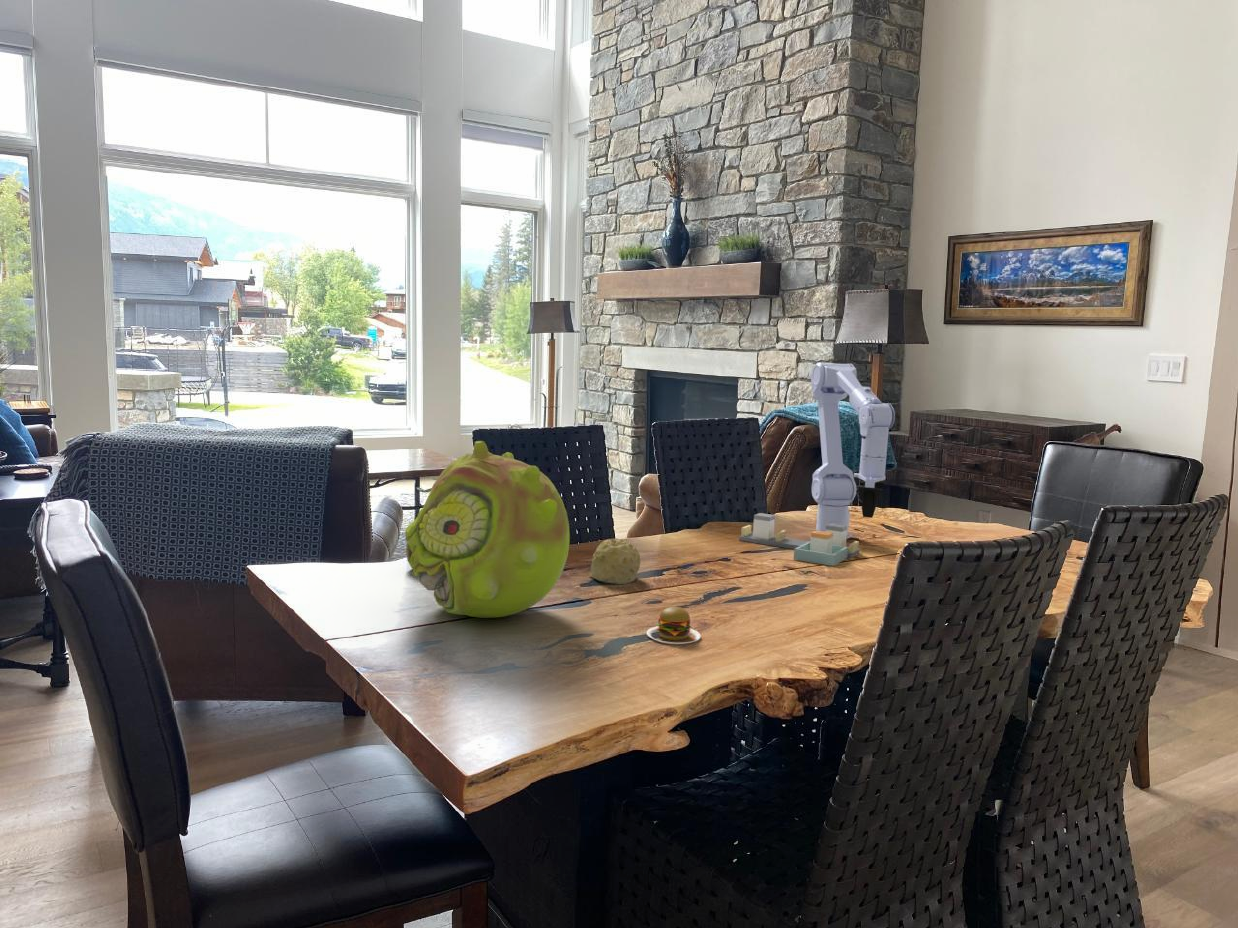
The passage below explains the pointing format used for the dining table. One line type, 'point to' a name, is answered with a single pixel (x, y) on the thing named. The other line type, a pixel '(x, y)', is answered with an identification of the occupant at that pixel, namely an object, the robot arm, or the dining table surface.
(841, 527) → the block
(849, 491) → the robot arm
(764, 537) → the block
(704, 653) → the dining table surface
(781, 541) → the block
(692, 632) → the hamburger
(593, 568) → the rock
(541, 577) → the monster head
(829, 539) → the block
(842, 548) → the tray
